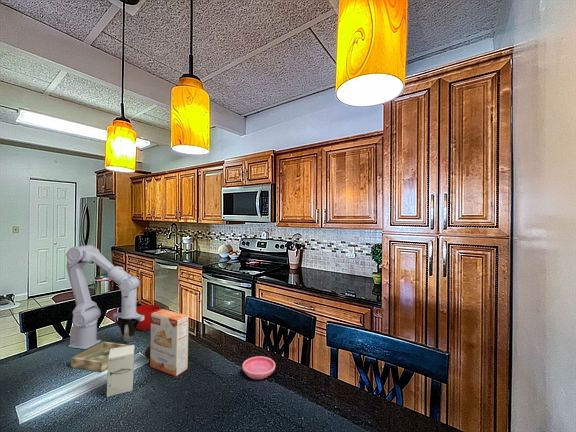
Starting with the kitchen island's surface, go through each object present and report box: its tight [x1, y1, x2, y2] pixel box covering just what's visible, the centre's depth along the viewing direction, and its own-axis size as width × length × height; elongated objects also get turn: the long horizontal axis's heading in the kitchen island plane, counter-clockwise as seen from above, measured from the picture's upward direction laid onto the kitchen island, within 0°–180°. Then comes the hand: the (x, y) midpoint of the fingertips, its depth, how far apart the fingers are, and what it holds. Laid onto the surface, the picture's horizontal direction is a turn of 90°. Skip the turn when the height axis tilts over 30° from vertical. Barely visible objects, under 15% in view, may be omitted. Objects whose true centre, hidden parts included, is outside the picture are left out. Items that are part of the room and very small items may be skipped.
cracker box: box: [149, 308, 190, 377], centre depth 102 cm, size 14×6×21 cm, turn 65°
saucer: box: [241, 355, 276, 380], centre depth 101 cm, size 12×12×3 cm
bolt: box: [144, 345, 151, 360], centre depth 116 cm, size 6×5×15 cm
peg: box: [123, 323, 133, 342], centre depth 120 cm, size 3×3×7 cm
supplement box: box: [106, 344, 135, 398], centre depth 90 cm, size 7×7×13 cm
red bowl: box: [136, 304, 161, 332], centre depth 137 cm, size 13×17×10 cm
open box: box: [70, 341, 130, 373], centre depth 107 cm, size 14×14×4 cm
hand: (128, 335), depth 120 cm, fingers closed on peg, 3 cm apart
